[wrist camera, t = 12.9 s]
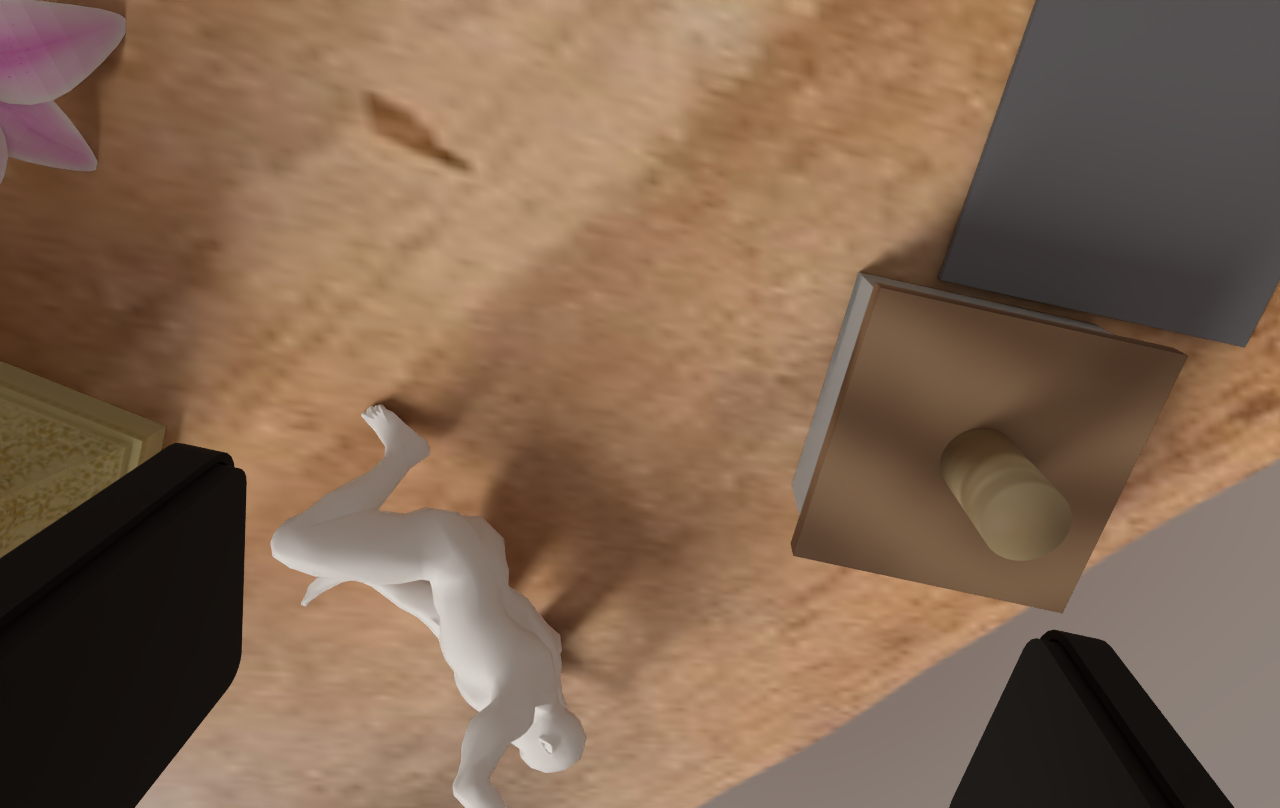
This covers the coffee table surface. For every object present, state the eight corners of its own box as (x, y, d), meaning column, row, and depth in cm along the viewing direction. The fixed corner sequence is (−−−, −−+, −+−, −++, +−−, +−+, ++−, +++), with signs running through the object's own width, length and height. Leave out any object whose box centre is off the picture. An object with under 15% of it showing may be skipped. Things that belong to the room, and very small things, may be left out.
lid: (875, 281, 31) (915, 322, 25) (1172, 347, 31) (1278, 402, 26) (790, 543, 35) (809, 627, 30) (1052, 599, 36) (1120, 693, 30)
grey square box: (858, 272, 36) (884, 297, 31) (1095, 324, 36) (1155, 358, 31) (791, 485, 40) (805, 537, 35) (1005, 531, 40) (1046, 588, 35)
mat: (1062, -74, 31) (1066, -77, 30) (1411, 6, 31) (1419, 5, 31) (938, 278, 36) (940, 280, 35) (1239, 344, 36) (1244, 347, 36)
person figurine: (151, 683, 33) (531, 903, 32) (272, 412, 31) (678, 635, 30) (316, 585, 46) (591, 739, 45) (408, 389, 44) (696, 544, 43)
